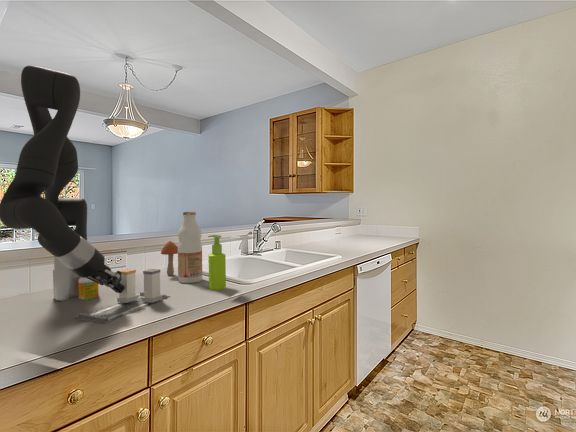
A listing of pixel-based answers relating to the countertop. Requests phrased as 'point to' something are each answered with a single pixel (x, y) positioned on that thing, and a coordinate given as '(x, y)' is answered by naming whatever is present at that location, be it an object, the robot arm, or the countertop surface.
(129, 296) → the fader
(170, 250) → the mushroom
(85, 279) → the supplement bottle
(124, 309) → the grey flat plate
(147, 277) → the block
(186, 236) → the fruit juice
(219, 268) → the soap dispenser
